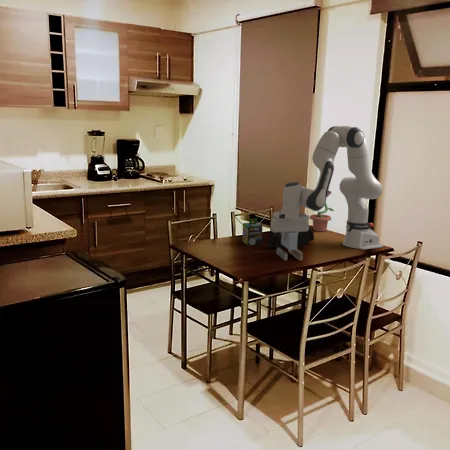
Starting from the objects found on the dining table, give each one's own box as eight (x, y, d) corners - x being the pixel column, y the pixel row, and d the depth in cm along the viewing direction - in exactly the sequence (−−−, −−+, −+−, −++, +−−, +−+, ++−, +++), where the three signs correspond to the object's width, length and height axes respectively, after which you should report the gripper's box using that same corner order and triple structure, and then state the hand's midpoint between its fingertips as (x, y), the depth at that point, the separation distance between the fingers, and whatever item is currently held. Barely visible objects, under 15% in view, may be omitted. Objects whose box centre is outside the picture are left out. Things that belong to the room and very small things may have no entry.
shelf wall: (290, 251, 255) (291, 244, 254) (302, 260, 240) (302, 253, 239) (288, 252, 255) (288, 244, 254) (299, 260, 240) (300, 253, 239)
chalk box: (256, 240, 277) (257, 216, 274) (262, 244, 268) (263, 219, 265) (241, 241, 274) (242, 217, 271) (247, 245, 266) (248, 220, 262)
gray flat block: (279, 253, 251) (279, 247, 251) (287, 260, 240) (287, 253, 239) (276, 253, 251) (276, 247, 250) (284, 260, 240) (284, 253, 239)
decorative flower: (331, 228, 312) (334, 183, 305) (333, 233, 298) (336, 186, 292) (308, 227, 314) (311, 182, 307) (309, 232, 300) (312, 185, 294)
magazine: (266, 234, 256) (310, 214, 267) (263, 232, 259) (306, 213, 270) (273, 261, 262) (315, 241, 273) (270, 260, 265) (311, 240, 276)
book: (288, 243, 251) (288, 229, 250) (296, 249, 240) (297, 234, 238) (281, 243, 250) (281, 229, 249) (289, 249, 239) (290, 234, 237)
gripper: (306, 212, 247) (305, 237, 250) (270, 213, 242) (268, 239, 245) (311, 214, 241) (310, 240, 244) (274, 215, 236) (272, 242, 239)
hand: (289, 240), depth 244 cm, fingers closed on book, 4 cm apart
